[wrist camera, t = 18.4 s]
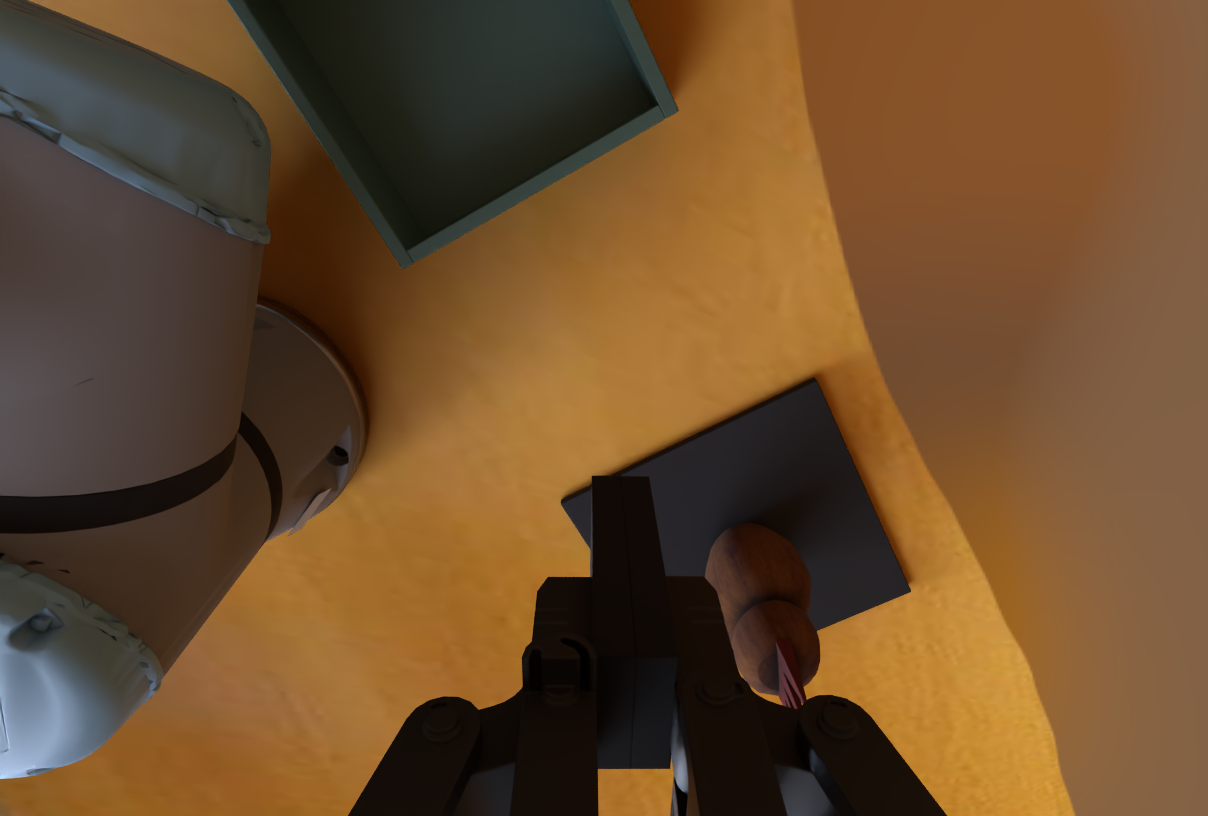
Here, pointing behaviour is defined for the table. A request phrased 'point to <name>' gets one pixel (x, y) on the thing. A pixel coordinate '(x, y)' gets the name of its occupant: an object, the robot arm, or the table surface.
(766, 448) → the mat
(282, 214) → the table surface
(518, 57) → the chest
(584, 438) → the table surface
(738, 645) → the wooden figurine
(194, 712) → the table surface
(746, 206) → the table surface
